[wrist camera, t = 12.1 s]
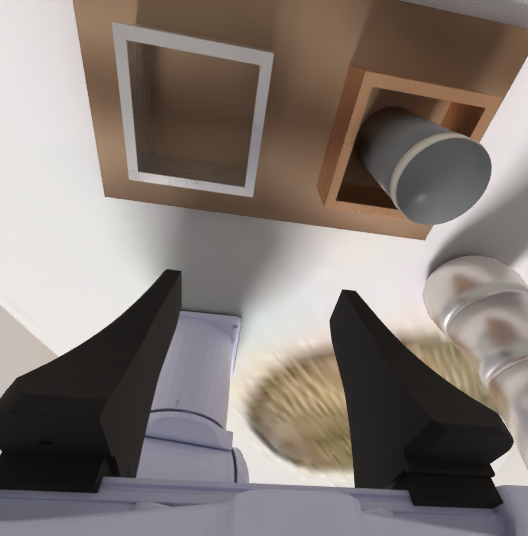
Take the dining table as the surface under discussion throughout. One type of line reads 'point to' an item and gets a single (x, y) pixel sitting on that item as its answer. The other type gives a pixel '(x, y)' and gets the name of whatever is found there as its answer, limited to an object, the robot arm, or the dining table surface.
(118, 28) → the steel collar
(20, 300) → the dining table surface
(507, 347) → the plastic bottle
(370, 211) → the copper collar
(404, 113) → the grey domed cylinder
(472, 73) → the walnut board
